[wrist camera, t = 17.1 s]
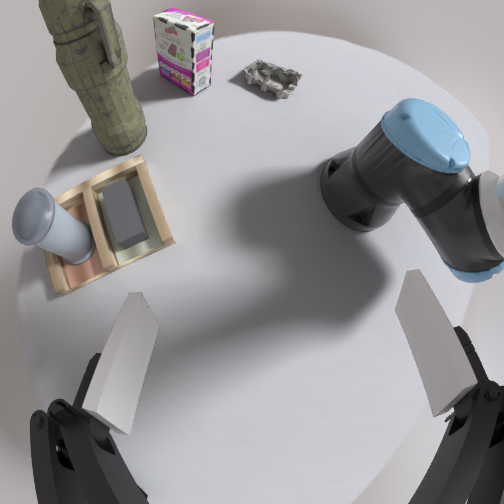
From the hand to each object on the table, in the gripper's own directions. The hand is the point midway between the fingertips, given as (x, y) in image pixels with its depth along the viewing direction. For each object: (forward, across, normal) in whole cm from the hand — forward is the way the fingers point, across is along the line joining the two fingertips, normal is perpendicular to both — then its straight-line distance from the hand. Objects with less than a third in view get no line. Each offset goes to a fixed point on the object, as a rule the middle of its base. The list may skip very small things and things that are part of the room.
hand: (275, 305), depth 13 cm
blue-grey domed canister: (+21, -30, -7) cm, 37 cm away
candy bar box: (+49, -15, +14) cm, 53 cm away
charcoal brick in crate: (+25, -22, -6) cm, 33 cm away
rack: (+24, -26, -7) cm, 36 cm away
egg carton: (+51, +3, +10) cm, 52 cm away
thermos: (+37, -25, +5) cm, 45 cm away
